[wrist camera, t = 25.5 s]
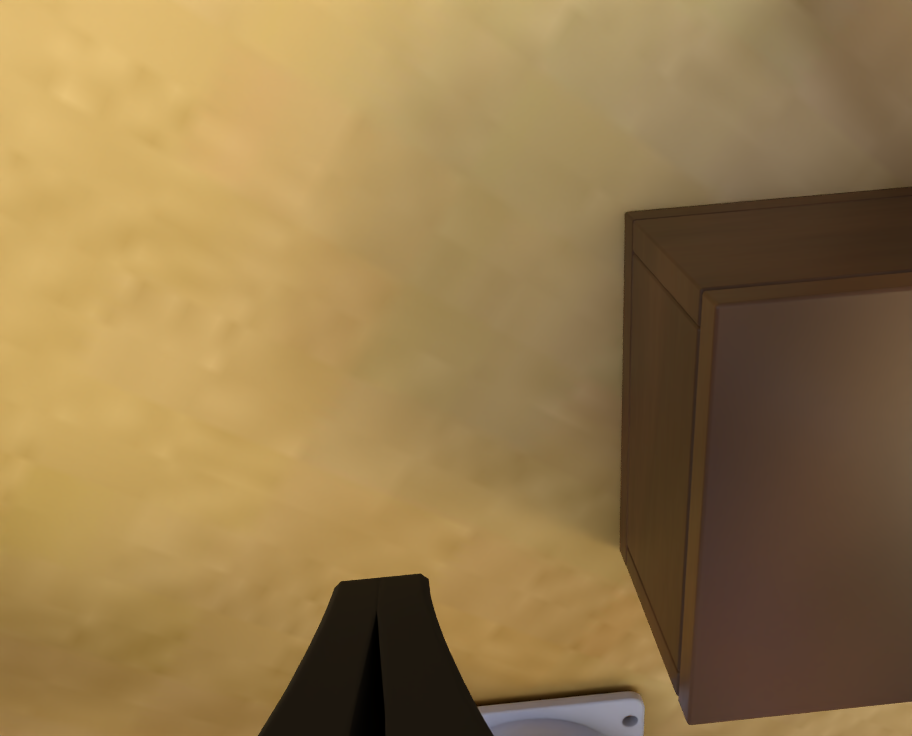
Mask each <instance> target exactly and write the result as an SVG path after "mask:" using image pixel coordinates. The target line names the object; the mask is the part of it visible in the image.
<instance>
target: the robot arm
mask: <svg viewBox="0 0 912 736" xmlns="http://www.w3.org/2000/svg"><path fill="white" fill-rule="evenodd" d="M644 713H645V707H644V703H643V700H642V697H641V696H640V695H639V694H638V693H636V692H634V691H624V692H614V693H605V694H595V695H585V696H575V697H565V698H555V699H546V700H536V701H526V702H516V703H506V704H497V705H487V706H476V704H475V702H474V700H473V698H472V697H471V695H470V693H469V691H468V689H467V687H466V685H465V683H464V681H463V679H462V677H461V675H460V673H459V670H458V668H457V666H456V664H455V662H454V660H453V657H452V655H451V653H450V651H449V649H448V646H447V644H446V641H445V639H444V637H443V634H442V631H441V628H440V626H439V623H438V620H437V617H436V614H435V611H434V607H433V604H432V600H431V595H430V587H429V579H428V578H426V577H425V576H423V575H422V574H412V575H402V576H392V577H381V578H371V579H361V580H351V581H341V582H340V583H339V584H338V585H337V586H336V587H335V588H334V591H333V594H332V596H331V599H330V602H329V604H328V606H327V609H326V611H325V614H324V616H323V618H322V620H321V623H320V625H319V627H318V629H317V631H316V633H315V635H314V637H313V639H312V641H311V644H310V646H309V648H308V650H307V652H306V653H305V655H304V657H303V659H302V661H301V663H300V665H299V667H298V668H297V670H296V672H295V674H294V676H293V678H292V680H291V681H290V683H289V685H288V687H287V689H286V690H285V692H284V694H283V696H282V697H281V699H280V701H279V702H278V704H277V706H276V707H275V709H274V710H273V712H272V714H271V715H270V717H269V719H268V720H267V722H266V723H265V725H264V727H263V728H262V730H261V732H260V733H259V735H258V736H644ZM630 715H632V716H630ZM626 716H630V717H626Z"/></svg>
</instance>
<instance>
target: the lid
mask: <svg viewBox="0 0 912 736" xmlns="http://www.w3.org/2000/svg"><path fill="white" fill-rule="evenodd" d="M678 701H679V703H680V706H681V708H682V711H683V713H684V716H685V718H686V721H687V723H688V724H689V725H696V724H705V723H715V722H724V721H733V720H743V719H752V718H762V717H771V716H780V715H790V714H799V713H809V712H818V711H827V710H837V709H846V708H856V707H865V706H874V705H884V704H893V703H902V702H912V272H907V273H896V274H885V275H874V276H863V277H852V278H841V279H830V280H819V281H809V282H798V283H787V284H776V285H765V286H754V287H743V288H732V289H721V290H710V291H705V292H703V295H702V311H701V328H700V345H699V362H698V379H697V395H696V412H695V429H694V446H693V463H692V480H691V497H690V513H689V530H688V547H687V564H686V581H685V598H684V614H683V631H682V648H681V665H680V682H679V699H678Z"/></svg>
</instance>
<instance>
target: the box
mask: <svg viewBox="0 0 912 736" xmlns="http://www.w3.org/2000/svg"><path fill="white" fill-rule="evenodd" d="M907 272H912V187H907V188H896V189H885V190H873V191H862V192H850V193H839V194H828V195H816V196H805V197H793V198H782V199H771V200H759V201H748V202H736V203H725V204H714V205H702V206H691V207H679V208H668V209H657V210H645V211H634V212H626V213H625V253H624V316H623V380H622V443H621V506H620V552H621V554H622V557H623V559H624V562H625V564H626V566H627V569H628V571H629V574H630V576H631V579H632V581H633V584H634V587H635V589H636V592H637V594H638V597H639V599H640V602H641V605H642V607H643V610H644V612H645V615H646V618H647V620H648V623H649V625H650V628H651V630H652V633H653V636H654V638H655V641H656V643H657V646H658V649H659V651H660V654H661V656H662V659H663V661H664V664H665V667H666V669H667V672H668V674H669V677H670V679H671V682H672V685H673V687H674V690H675V692H676V694H677V695H678V696H679V682H680V665H681V648H682V631H683V614H684V598H685V581H686V564H687V547H688V530H689V513H690V497H691V480H692V463H693V446H694V429H695V412H696V395H697V379H698V362H699V345H700V328H701V311H702V295H703V292H705V291H710V290H721V289H732V288H743V287H754V286H765V285H776V284H787V283H798V282H809V281H819V280H830V279H841V278H852V277H863V276H874V275H885V274H896V273H907Z"/></svg>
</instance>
